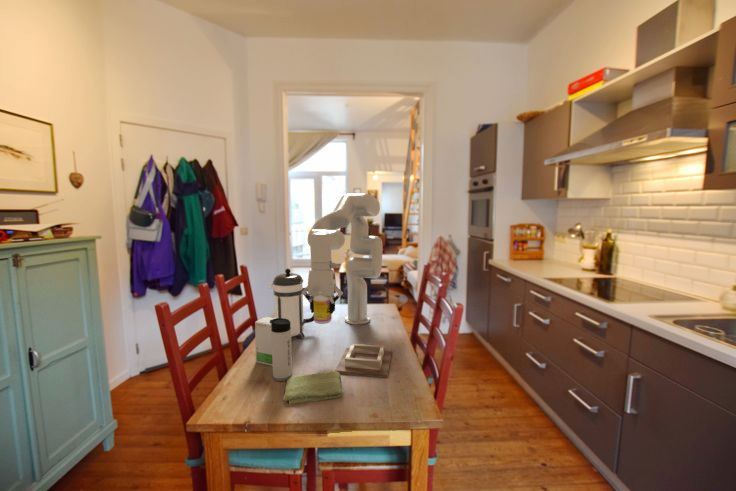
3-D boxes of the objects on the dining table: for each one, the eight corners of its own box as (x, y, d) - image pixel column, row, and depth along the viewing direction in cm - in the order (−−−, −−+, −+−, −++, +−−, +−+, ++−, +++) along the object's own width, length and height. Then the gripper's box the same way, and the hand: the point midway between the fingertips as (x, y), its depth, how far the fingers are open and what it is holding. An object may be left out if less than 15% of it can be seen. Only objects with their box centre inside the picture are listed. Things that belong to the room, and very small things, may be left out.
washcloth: (286, 382, 106) (286, 373, 106) (340, 377, 110) (340, 368, 109) (283, 407, 94) (282, 396, 93) (344, 400, 97) (344, 390, 96)
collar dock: (346, 349, 129) (346, 340, 129) (391, 353, 126) (392, 343, 126) (335, 373, 111) (334, 362, 111) (387, 377, 109) (387, 366, 108)
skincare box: (255, 362, 119) (253, 321, 117) (266, 354, 125) (265, 315, 123) (274, 366, 116) (272, 324, 114) (285, 358, 122) (283, 318, 120)
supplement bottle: (328, 325, 119) (327, 291, 117) (311, 324, 121) (310, 290, 119) (333, 318, 126) (333, 286, 124) (317, 317, 127) (316, 285, 125)
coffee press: (292, 346, 133) (290, 274, 129) (264, 338, 141) (262, 270, 137) (319, 331, 148) (317, 266, 144) (292, 325, 156) (290, 263, 152)
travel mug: (270, 374, 111) (268, 317, 108) (290, 370, 113) (288, 315, 111) (273, 383, 105) (270, 324, 103) (293, 379, 108) (292, 321, 105)
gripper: (346, 264, 122) (347, 309, 125) (302, 263, 125) (304, 307, 128) (341, 268, 115) (342, 316, 118) (295, 267, 118) (297, 314, 120)
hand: (322, 311), depth 123 cm, fingers closed on supplement bottle, 6 cm apart
